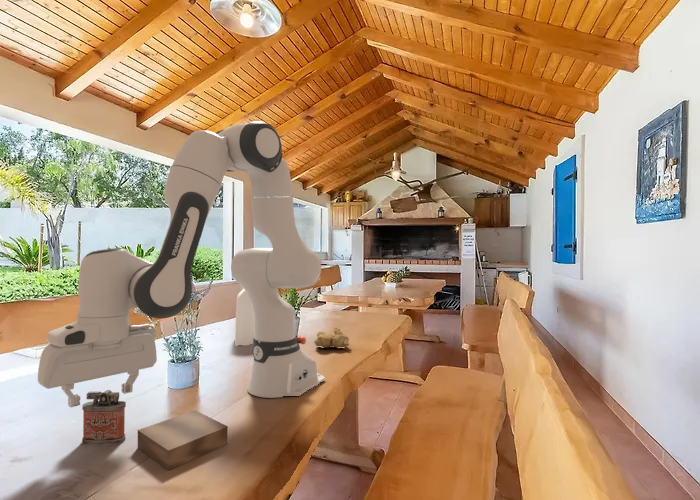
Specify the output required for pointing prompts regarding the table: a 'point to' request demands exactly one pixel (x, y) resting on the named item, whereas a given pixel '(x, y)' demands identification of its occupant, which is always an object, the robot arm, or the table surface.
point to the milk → (244, 320)
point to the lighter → (103, 419)
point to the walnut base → (182, 438)
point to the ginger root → (332, 339)
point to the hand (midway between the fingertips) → (101, 398)
